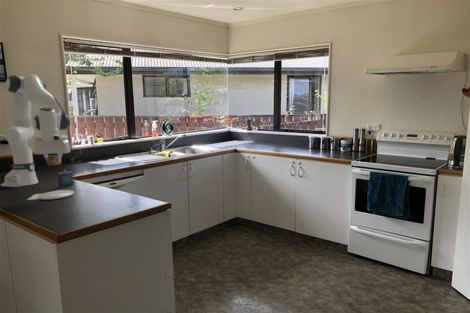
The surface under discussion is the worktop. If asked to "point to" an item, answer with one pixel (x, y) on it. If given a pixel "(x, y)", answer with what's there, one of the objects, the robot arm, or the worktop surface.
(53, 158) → the block
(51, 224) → the worktop surface
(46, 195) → the plate
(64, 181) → the flask
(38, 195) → the napkin
